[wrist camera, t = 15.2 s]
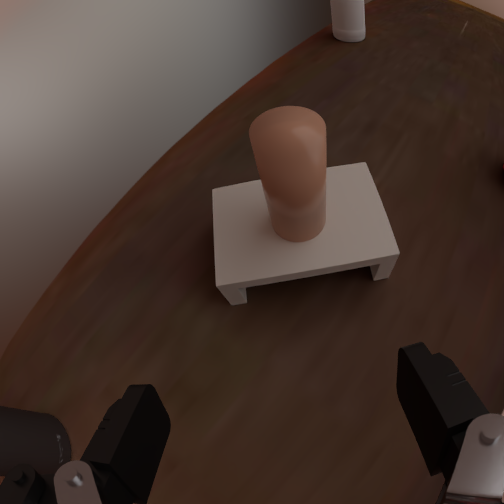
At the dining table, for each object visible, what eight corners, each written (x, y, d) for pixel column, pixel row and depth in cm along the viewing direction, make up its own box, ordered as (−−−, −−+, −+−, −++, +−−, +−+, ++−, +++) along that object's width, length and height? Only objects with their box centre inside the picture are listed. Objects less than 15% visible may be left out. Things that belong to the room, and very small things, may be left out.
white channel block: (231, 305, 36) (216, 286, 30) (225, 217, 41) (212, 189, 36) (388, 277, 33) (399, 253, 28) (361, 193, 39) (365, 162, 34)
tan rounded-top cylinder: (274, 246, 31) (252, 161, 21) (268, 200, 34) (246, 112, 23) (330, 237, 30) (334, 148, 20) (320, 192, 33) (316, 101, 23)
